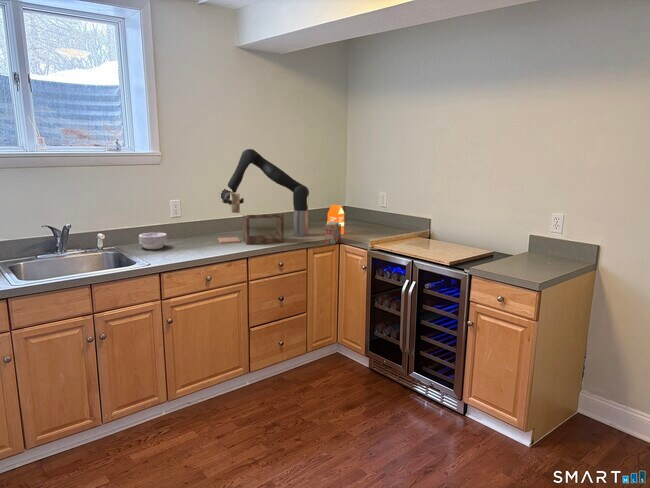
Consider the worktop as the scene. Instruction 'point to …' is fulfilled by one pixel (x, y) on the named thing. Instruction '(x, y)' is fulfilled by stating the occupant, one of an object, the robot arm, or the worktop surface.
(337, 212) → the orange juice
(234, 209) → the maple block
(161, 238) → the paper bowls
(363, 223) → the worktop surface
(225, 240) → the terracotta tile
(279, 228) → the walnut bay
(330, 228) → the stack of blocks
